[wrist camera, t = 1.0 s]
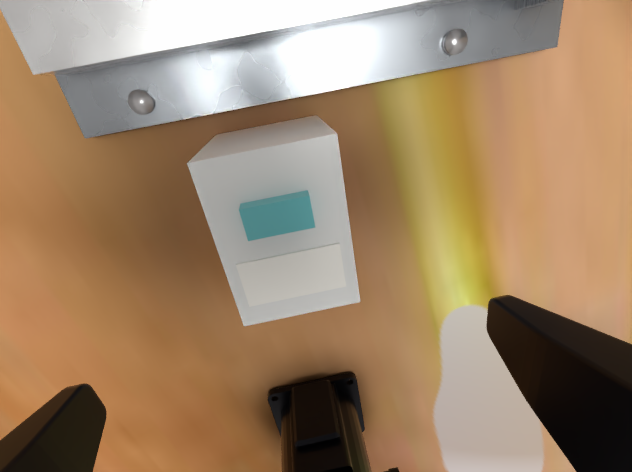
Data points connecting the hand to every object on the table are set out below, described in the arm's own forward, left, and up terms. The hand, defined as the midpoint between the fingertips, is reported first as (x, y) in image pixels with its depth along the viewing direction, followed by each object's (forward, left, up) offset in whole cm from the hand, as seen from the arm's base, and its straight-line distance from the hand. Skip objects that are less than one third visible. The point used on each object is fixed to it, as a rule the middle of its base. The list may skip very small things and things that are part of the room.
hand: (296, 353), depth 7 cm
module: (0, 0, -12) cm, 12 cm away
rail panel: (+9, -3, -12) cm, 15 cm away
